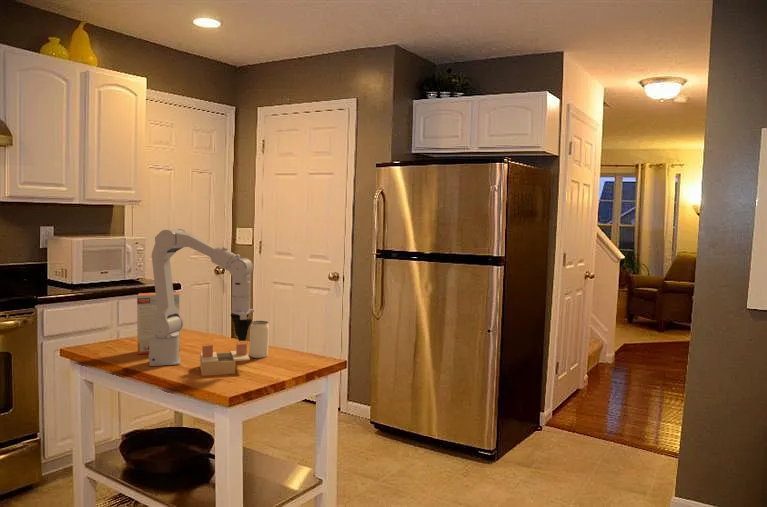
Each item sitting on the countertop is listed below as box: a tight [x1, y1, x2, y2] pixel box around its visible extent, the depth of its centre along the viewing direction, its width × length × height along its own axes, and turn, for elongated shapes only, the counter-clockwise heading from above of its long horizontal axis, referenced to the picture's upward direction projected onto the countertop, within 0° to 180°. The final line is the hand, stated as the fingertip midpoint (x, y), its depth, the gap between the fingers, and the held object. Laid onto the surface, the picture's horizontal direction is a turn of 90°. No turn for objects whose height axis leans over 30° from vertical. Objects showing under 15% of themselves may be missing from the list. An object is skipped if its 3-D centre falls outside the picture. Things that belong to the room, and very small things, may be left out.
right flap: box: [230, 342, 251, 362], centre depth 195 cm, size 5×12×4 cm, turn 19°
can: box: [248, 320, 270, 359], centre depth 212 cm, size 6×6×12 cm
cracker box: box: [136, 291, 181, 355], centre depth 215 cm, size 14×6×21 cm, turn 108°
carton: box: [199, 351, 236, 377], centre depth 193 cm, size 10×12×4 cm
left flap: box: [200, 344, 218, 363], centre depth 192 cm, size 5×12×4 cm, turn 19°
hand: (240, 338), depth 195 cm, fingers open, 7 cm apart
